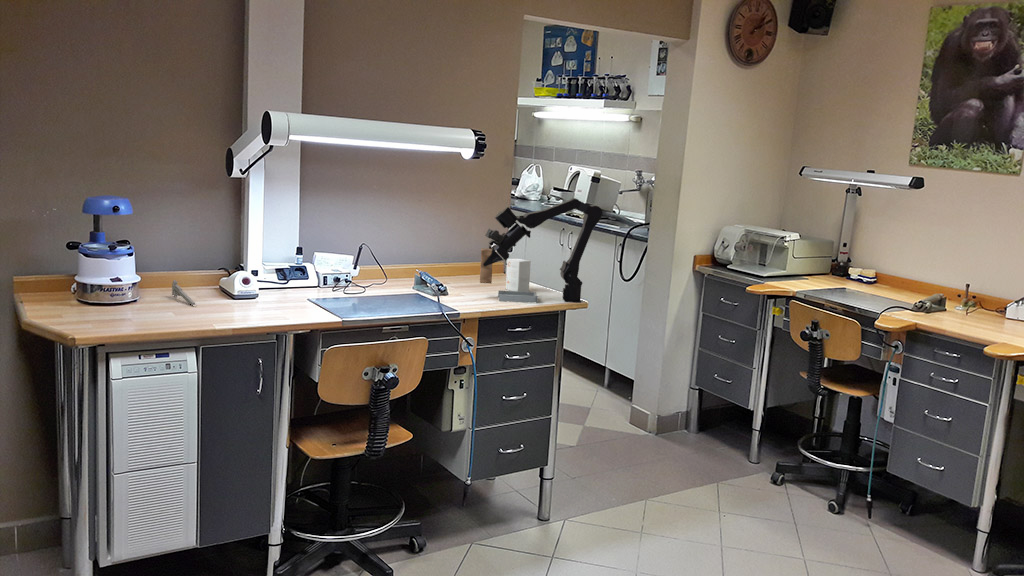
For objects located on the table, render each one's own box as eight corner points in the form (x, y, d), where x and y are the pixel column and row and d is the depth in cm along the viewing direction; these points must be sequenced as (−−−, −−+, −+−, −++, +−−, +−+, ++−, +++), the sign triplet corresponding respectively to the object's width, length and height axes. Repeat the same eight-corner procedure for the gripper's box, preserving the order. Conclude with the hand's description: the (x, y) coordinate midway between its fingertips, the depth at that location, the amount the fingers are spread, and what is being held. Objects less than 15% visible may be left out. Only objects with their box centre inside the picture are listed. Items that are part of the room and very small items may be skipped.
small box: (529, 291, 347) (531, 260, 345) (517, 292, 343) (519, 261, 341) (516, 288, 353) (518, 257, 351) (505, 289, 349) (507, 258, 347)
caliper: (171, 296, 299) (171, 279, 297) (174, 296, 299) (174, 279, 298) (193, 307, 284) (193, 289, 283) (196, 307, 284) (196, 289, 283)
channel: (535, 298, 334) (535, 292, 333) (537, 302, 324) (537, 296, 324) (498, 296, 333) (498, 290, 332) (498, 301, 324) (499, 294, 323)
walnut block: (491, 281, 329) (492, 248, 327) (491, 283, 325) (493, 250, 322) (479, 280, 329) (481, 248, 326) (479, 283, 324) (481, 250, 322)
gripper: (494, 219, 332) (466, 246, 332) (502, 224, 314) (471, 252, 314) (513, 239, 335) (484, 266, 335) (521, 246, 317) (491, 274, 317)
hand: (482, 264), depth 325 cm, fingers closed on walnut block, 5 cm apart
